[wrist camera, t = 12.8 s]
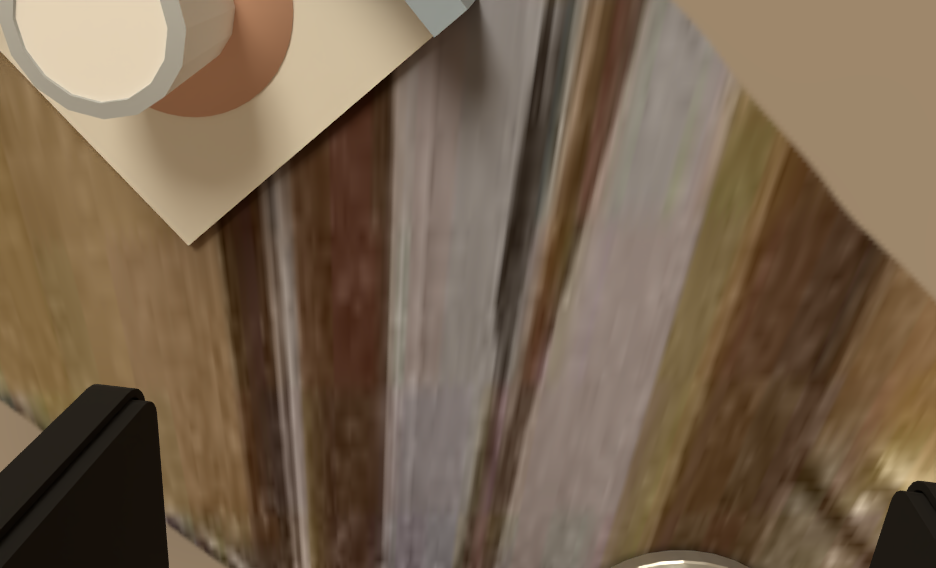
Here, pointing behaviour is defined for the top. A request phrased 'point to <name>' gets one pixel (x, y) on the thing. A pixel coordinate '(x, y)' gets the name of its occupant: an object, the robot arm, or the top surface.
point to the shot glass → (114, 48)
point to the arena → (257, 100)
